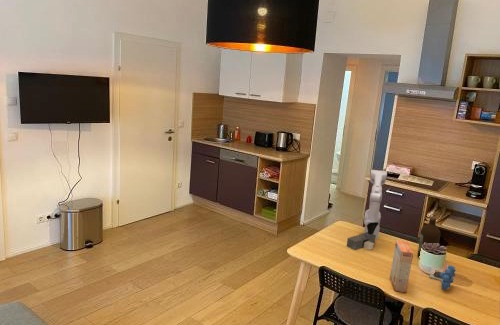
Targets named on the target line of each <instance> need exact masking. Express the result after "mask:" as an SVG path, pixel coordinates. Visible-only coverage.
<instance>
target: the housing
mask: <svg viewBox="0 0 500 325" xmlns="http://www.w3.org/2000/svg"><path fill="white" fill-rule="evenodd" d="M375 238H376V235H374V234H372V235H370V234H368V232H366V233H364V232H363V233H359V234H357V235H356V234H355V235H354V236H350V237H347V242H346V247H347V248H350V249H351V250H353V251H357V250H360V249H362V248H363V246H362V245H363V242H366V241H370V242H372V243H374V245H375V242H376V239H377V238H376V239H375Z"/></svg>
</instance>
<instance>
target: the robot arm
mask: <svg viewBox="0 0 500 325" xmlns="http://www.w3.org/2000/svg"><path fill="white" fill-rule="evenodd" d="M387 176H388V172H387V171H386V170H385V171H384V170H379V169H378V170H377V169H371V171H370V179H369V182H370V183H371V184H372V187H371V192H370V195H369V206H368V207H369V208H368V209H366V210H365V213H364V218H363V224H364V225H365V226H364V231H363V233H366V232H368V234H370V235H372V234H374V235H376V238H375V240H376V239H378V238H380V236H379V235H380V230H381V229H380V228H381V227H380V224H381V218H382V216H381V215H382V214H381V212H380V207H381V206H380V205H381V202H382V199H383V193H382V192H383V187H382V186H383V185H385V184H386V181H387Z"/></svg>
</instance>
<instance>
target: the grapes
mask: <svg viewBox="0 0 500 325" xmlns="http://www.w3.org/2000/svg"><path fill="white" fill-rule="evenodd" d="M447 268H448V269H446V270H445V273H444V272H442V273H440V277H441V278H442V279H443V281H442V282H441V281H440V284H441V287H442V290H444V291H446V290H449V288H451V287H452V286H451V284H452V283H454V277H456V273H455V272H457V270H456V268H455V266H453V265H450V264H449V266H448V267H447Z"/></svg>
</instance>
